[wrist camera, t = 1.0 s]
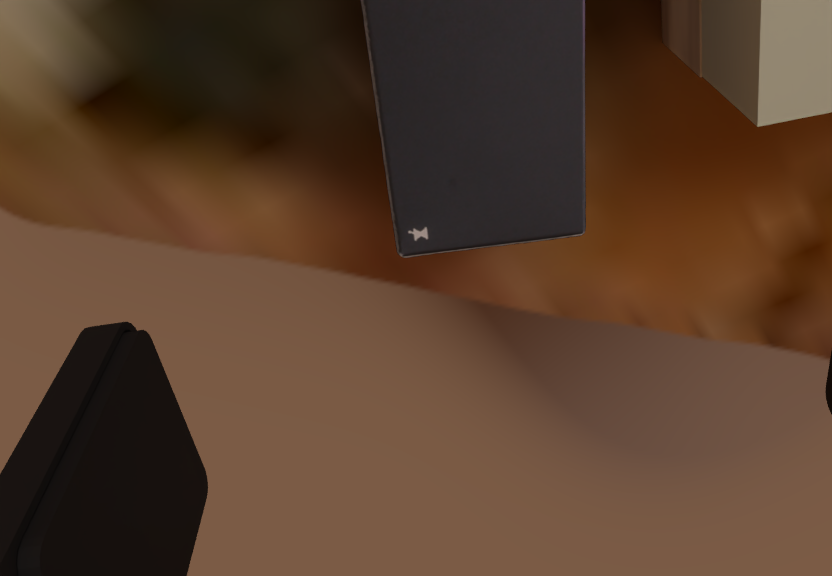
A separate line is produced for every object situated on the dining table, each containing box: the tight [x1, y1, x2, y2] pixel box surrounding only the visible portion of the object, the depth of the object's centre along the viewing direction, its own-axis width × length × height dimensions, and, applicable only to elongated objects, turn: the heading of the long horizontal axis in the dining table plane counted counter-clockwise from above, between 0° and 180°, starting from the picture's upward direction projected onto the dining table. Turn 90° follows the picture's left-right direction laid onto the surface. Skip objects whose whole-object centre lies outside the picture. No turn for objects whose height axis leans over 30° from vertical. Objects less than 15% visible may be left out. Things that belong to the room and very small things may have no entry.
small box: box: [361, 0, 586, 258], centre depth 27 cm, size 11×6×10 cm, turn 7°
